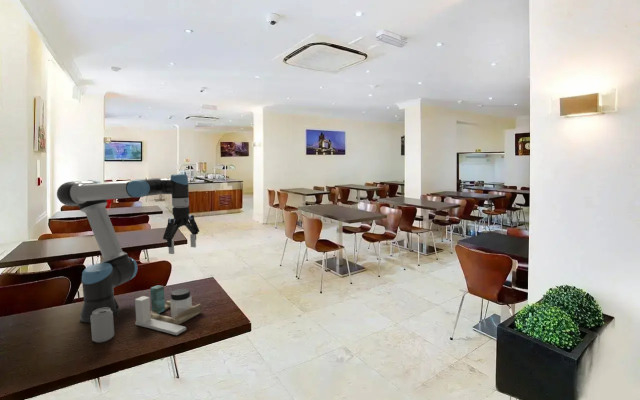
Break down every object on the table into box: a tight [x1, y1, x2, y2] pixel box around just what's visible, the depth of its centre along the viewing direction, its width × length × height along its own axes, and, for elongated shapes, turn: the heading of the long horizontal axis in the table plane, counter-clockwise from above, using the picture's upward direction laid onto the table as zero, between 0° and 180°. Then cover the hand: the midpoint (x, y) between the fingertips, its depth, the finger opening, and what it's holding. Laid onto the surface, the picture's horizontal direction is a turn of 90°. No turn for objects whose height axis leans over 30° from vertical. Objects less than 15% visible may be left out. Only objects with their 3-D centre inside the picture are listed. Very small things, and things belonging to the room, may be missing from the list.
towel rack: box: [150, 284, 202, 325], centre depth 153 cm, size 22×14×12 cm
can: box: [90, 307, 115, 343], centre depth 132 cm, size 8×8×12 cm
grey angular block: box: [134, 295, 187, 336], centre depth 141 cm, size 24×5×11 cm, turn 67°
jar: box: [169, 288, 193, 318], centre depth 151 cm, size 9×8×12 cm
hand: (182, 250), depth 159 cm, fingers open, 13 cm apart
